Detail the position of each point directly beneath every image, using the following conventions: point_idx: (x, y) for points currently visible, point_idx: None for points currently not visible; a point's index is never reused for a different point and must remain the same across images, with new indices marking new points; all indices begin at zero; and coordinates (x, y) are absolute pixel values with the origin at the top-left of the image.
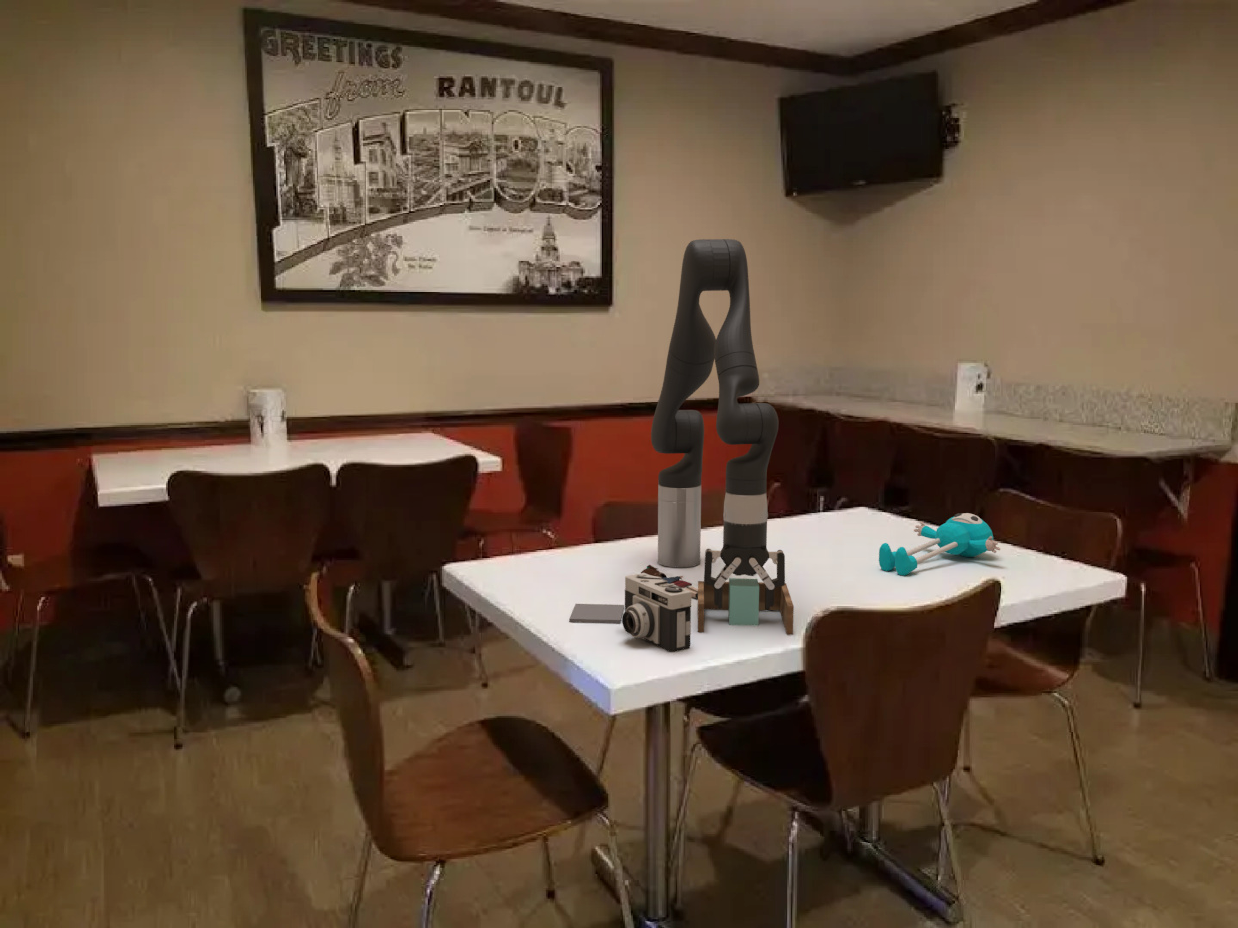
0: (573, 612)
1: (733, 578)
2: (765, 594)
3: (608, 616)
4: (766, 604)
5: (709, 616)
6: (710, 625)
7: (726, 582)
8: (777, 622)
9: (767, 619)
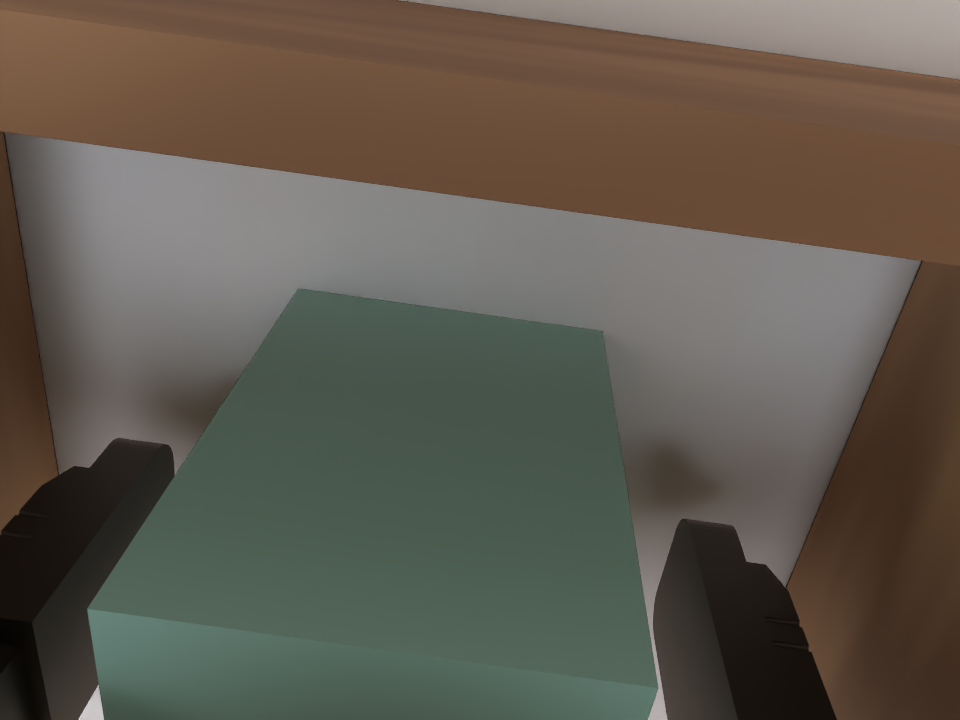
0: None
1: (176, 629)
2: (704, 663)
3: None
4: (665, 667)
5: (95, 294)
6: None
7: (110, 91)
8: (758, 508)
9: (691, 424)
